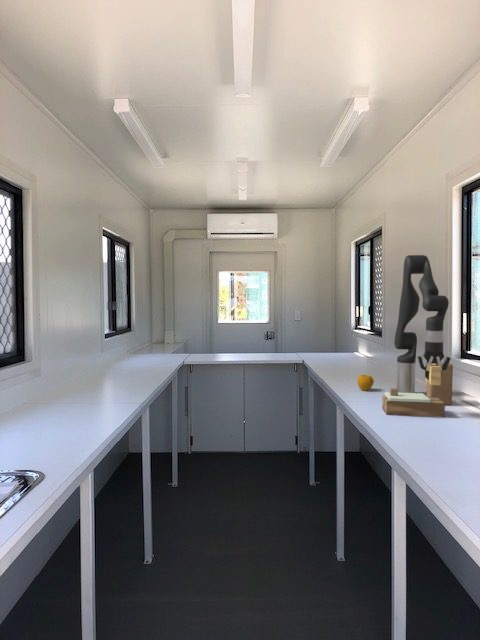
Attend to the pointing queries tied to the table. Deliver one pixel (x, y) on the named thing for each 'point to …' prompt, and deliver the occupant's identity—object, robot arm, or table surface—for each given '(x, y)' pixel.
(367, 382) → the apple
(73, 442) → the table surface
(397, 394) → the lid
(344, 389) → the table surface
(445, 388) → the wooden block
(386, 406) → the wooden box
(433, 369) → the key
